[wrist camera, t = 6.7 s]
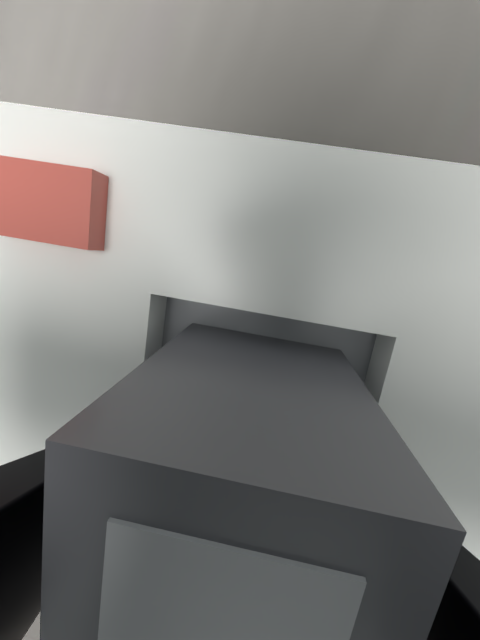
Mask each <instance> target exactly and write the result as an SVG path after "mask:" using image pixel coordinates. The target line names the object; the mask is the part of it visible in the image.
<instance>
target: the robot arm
mask: <svg viewBox="0 0 480 640" xmlns="http://www.w3.org/2000/svg"><path fill="white" fill-rule="evenodd" d="M44 474H45V449H44V450H41V451H38V452H35V453H33V454H30V455H27V456H25V457H22V458H19V459H17V460H14V461H11V462H9V463H6V464H3V465H1V466H0V640H22V639H23V637H24V635H25V634H26V632H27V631H28V629H29V628H30V626H31V625H32V623H33V622H34V620H35V618H36V617H37V615H38V614H39V612H40V611H41V581H42V545H43V510H44ZM427 640H480V560H479V559H478V558H476V557H475V556H474V555H473V554H472V553H471V552H469V551H468V550H467V549H466V548H465V547H464V546H463V545H462V547H461V549H460V552H459V555H458V557H457V560H456V563H455V565H454V568H453V571H452V573H451V576H450V579H449V581H448V584H447V587H446V589H445V592H444V595H443V597H442V600H441V603H440V605H439V608H438V611H437V613H436V616H435V619H434V621H433V624H432V627H431V629H430V632H429V635H428V637H427Z"/></svg>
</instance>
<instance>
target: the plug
mask: <svg viewBox="0 0 480 640" xmlns="http://www.w3.org/2000/svg"><path fill="white" fill-rule="evenodd" d="M466 533H467V532H466V530H465V529H464V527H463V526H462V524H461V523H460V522H459V520H458V519H457V517H456V516H455V514H454V513H453V511H452V510H451V509H450V507H449V506H448V504H447V503H446V501H445V500H444V498H443V497H442V496H441V494H440V493H439V491H438V490H437V488H436V487H435V485H434V484H433V483H432V481H431V480H430V478H429V477H428V475H427V474H426V472H425V471H424V469H423V468H422V467H421V465H420V464H419V462H418V461H417V459H416V458H415V456H414V455H413V454H412V452H411V451H410V449H409V448H408V446H407V445H406V443H405V442H404V441H403V439H402V438H401V436H400V435H399V433H398V432H397V430H396V429H395V428H394V426H393V425H392V423H391V422H390V420H389V419H388V417H387V416H386V415H385V413H384V412H383V410H382V409H381V407H380V406H379V404H378V403H377V402H376V400H375V399H374V397H373V396H372V394H371V393H370V391H369V390H368V389H367V387H366V386H365V384H364V383H363V381H362V380H361V378H360V377H359V376H358V374H357V373H356V371H355V370H354V368H353V367H352V365H351V364H350V362H349V361H348V360H347V358H346V357H345V355H344V354H343V352H342V351H341V350H339V349H333V348H328V347H322V346H317V345H311V344H306V343H300V342H295V341H289V340H284V339H278V338H273V337H267V336H262V335H256V334H251V333H245V332H240V331H234V330H229V329H223V328H218V327H212V326H207V325H201V324H196V323H192V324H190V325H189V326H188V327H187V328H185V329H184V330H183V331H182V332H180V333H179V334H178V335H177V336H175V337H174V338H173V339H172V340H170V341H169V342H168V343H167V344H165V345H164V346H163V347H162V348H160V349H159V350H158V351H157V352H155V353H154V354H153V355H152V356H150V357H149V358H148V359H146V360H145V361H144V362H143V363H141V364H140V365H139V366H138V367H136V368H135V369H134V370H133V371H131V372H130V373H129V374H128V375H126V376H125V377H124V378H123V379H121V380H120V381H119V382H118V383H116V384H115V385H114V386H113V387H111V388H110V389H109V390H108V391H106V392H105V393H104V394H103V395H101V396H100V397H99V398H97V399H96V400H95V401H94V402H92V403H91V404H90V405H89V406H87V407H86V408H85V409H84V410H82V411H81V412H80V413H79V414H77V415H76V416H75V417H74V418H72V419H71V420H70V421H69V422H67V423H66V424H65V425H64V426H62V427H61V428H60V429H59V430H57V431H56V432H55V433H53V434H52V435H51V436H50V437H48V438H47V439H46V440H45V474H44V510H43V545H42V581H41V616H40V640H427V637H428V635H429V632H430V629H431V627H432V624H433V621H434V619H435V616H436V613H437V611H438V608H439V605H440V603H441V600H442V597H443V595H444V592H445V589H446V587H447V584H448V581H449V579H450V576H451V573H452V571H453V568H454V565H455V563H456V560H457V557H458V555H459V552H460V549H461V547H462V544H463V541H464V539H465V536H466Z"/></svg>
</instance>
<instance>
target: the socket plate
mask: <svg viewBox="0 0 480 640" xmlns="http://www.w3.org/2000/svg"><path fill="white" fill-rule="evenodd" d="M192 323H196V324H201V325H207V326H212V327H218V328H223V329H229V330H234V331H240V332H245V333H251V334H256V335H262V336H267V337H273V338H278V339H284V340H289V341H295V342H300V343H306V344H311V345H317V346H322V347H328V348H333V349H339V350H341V351H342V352H343V354H344V355H345V357H346V358H347V360H348V361H349V362H350V364H351V365H352V367H353V368H354V370H355V371H356V373H357V374H358V376H359V377H360V378H361V380H362V381H363V383H364V384H365V386H366V387H367V389H368V390H369V391H370V393H371V394H372V396H373V397H374V399H375V400H376V402H377V403H378V404H379V406H380V407H381V409H382V410H383V412H384V413H385V415H386V416H387V417H388V419H389V420H390V422H391V423H392V425H393V426H394V428H395V429H396V430H397V432H398V433H399V435H400V436H401V438H402V439H403V441H404V442H405V443H406V445H407V446H408V448H409V449H410V451H411V452H412V454H413V455H414V456H415V458H416V459H417V461H418V462H419V464H420V465H421V467H422V468H423V469H424V471H425V472H426V474H427V475H428V477H429V478H430V480H431V481H432V483H433V484H434V485H435V487H436V488H437V490H438V491H439V493H440V494H441V496H442V497H443V498H444V500H445V501H446V503H447V504H448V506H449V507H450V509H451V510H452V511H453V513H454V514H455V516H456V517H457V519H458V520H459V522H460V523H461V524H462V526H463V527H464V529H465V530H466V532H467V533H466V536H465V539H464V541H463V544H462V545H463V546H464V547H465V548H466V549H467V550H468V551H469V552H471V553H472V554H473V555H474V556H475V557H476V558H478V559H479V560H480V166H478V165H471V164H463V163H456V162H448V161H441V160H433V159H426V158H419V157H411V156H404V155H396V154H389V153H381V152H374V151H366V150H359V149H352V148H344V147H337V146H329V145H322V144H314V143H307V142H299V141H292V140H284V139H277V138H270V137H262V136H255V135H247V134H240V133H232V132H225V131H217V130H210V129H203V128H195V127H188V126H180V125H173V124H165V123H158V122H150V121H143V120H136V119H128V118H121V117H113V116H106V115H98V114H91V113H83V112H76V111H68V110H61V109H54V108H46V107H39V106H31V105H24V104H16V103H9V102H1V101H0V466H1V465H3V464H6V463H9V462H11V461H14V460H17V459H19V458H22V457H25V456H27V455H30V454H33V453H35V452H38V451H41V450H44V449H45V440H46V439H47V438H48V437H50V436H51V435H52V434H53V433H55V432H56V431H57V430H59V429H60V428H61V427H62V426H64V425H65V424H66V423H67V422H69V421H70V420H71V419H72V418H74V417H75V416H76V415H77V414H79V413H80V412H81V411H82V410H84V409H85V408H86V407H87V406H89V405H90V404H91V403H92V402H94V401H95V400H96V399H97V398H99V397H100V396H101V395H103V394H104V393H105V392H106V391H108V390H109V389H110V388H111V387H113V386H114V385H115V384H116V383H118V382H119V381H120V380H121V379H123V378H124V377H125V376H126V375H128V374H129V373H130V372H131V371H133V370H134V369H135V368H136V367H138V366H139V365H140V364H141V363H143V362H144V361H145V360H146V359H148V358H149V357H150V356H152V355H153V354H154V353H155V352H157V351H158V350H159V349H160V348H162V347H163V346H164V345H165V344H167V343H168V342H169V341H170V340H172V339H173V338H174V337H175V336H177V335H178V334H179V333H180V332H182V331H183V330H184V329H185V328H187V327H188V326H189V325H190V324H192Z"/></svg>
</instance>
